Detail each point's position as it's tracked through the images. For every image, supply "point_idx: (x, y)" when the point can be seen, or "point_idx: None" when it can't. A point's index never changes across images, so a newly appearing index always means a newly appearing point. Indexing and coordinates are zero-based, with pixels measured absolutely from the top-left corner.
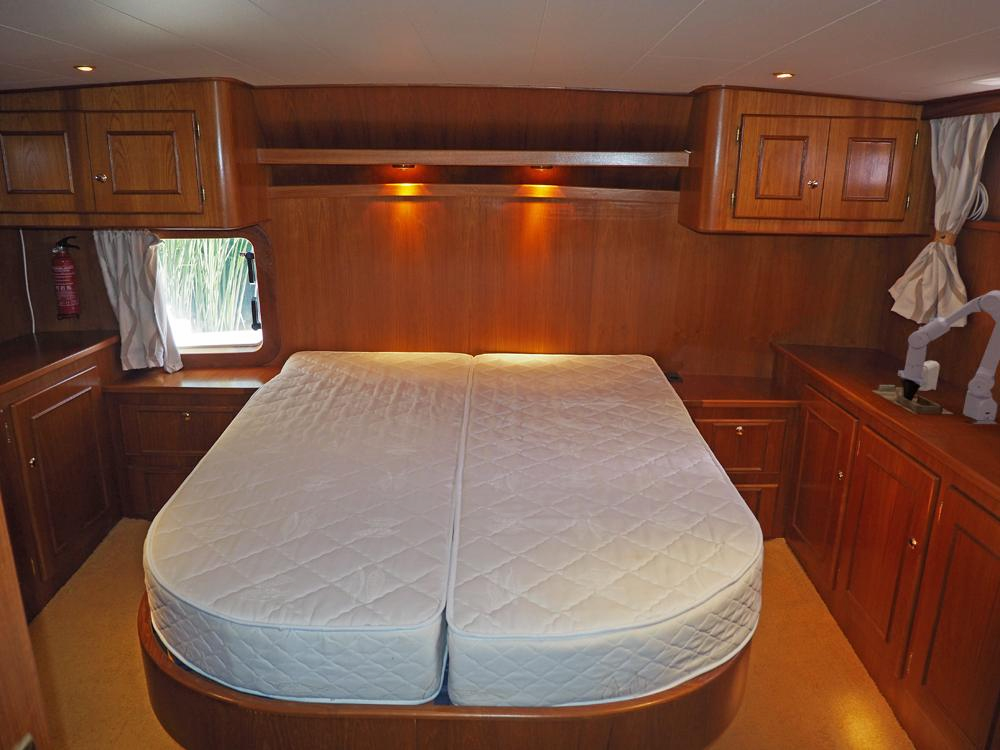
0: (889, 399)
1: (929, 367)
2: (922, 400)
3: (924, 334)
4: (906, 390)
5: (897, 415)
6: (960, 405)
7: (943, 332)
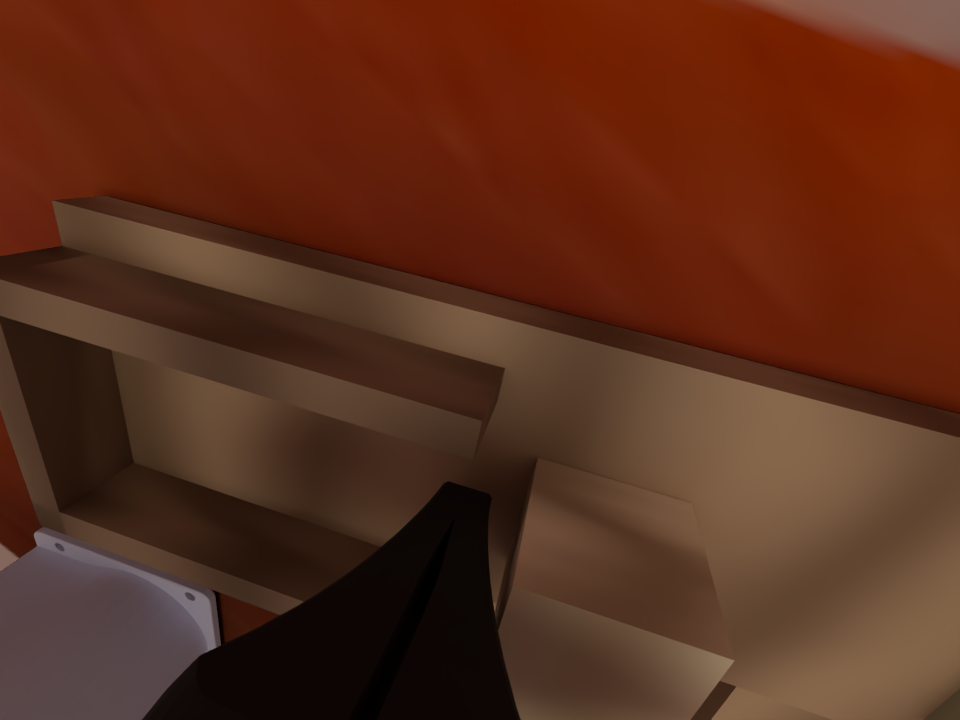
0: (649, 378)
1: None
2: None
3: None
4: (390, 584)
5: (161, 44)
6: None
7: None
